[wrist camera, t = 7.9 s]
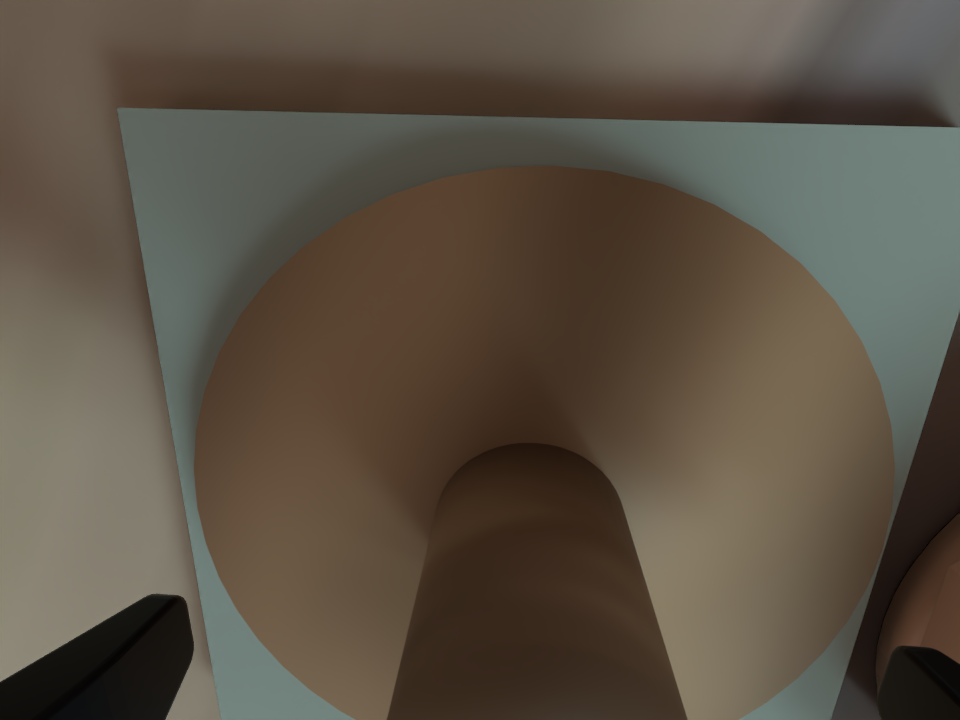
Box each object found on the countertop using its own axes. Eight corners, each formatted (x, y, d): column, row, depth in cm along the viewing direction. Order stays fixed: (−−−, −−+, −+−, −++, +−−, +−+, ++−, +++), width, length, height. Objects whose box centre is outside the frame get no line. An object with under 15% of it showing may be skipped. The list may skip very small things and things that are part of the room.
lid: (955, 176, 8) (1512, 191, 4) (787, 752, 12) (953, 1113, 7) (172, 155, 9) (-205, 146, 4) (253, 709, 12) (102, 1018, 8)
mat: (963, 133, 9) (1017, 128, 8) (790, 736, 13) (811, 780, 12) (157, 113, 9) (116, 107, 8) (243, 693, 14) (222, 732, 13)
